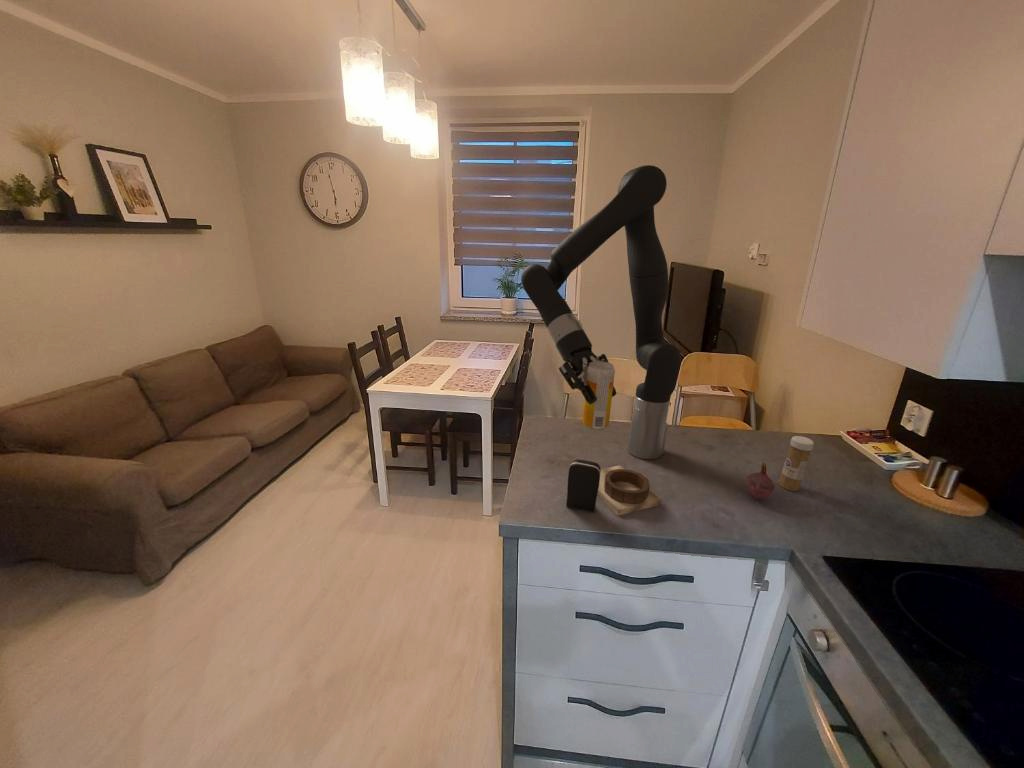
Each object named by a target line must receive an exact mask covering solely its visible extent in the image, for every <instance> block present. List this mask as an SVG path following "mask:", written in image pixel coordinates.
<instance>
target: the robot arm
mask: <svg viewBox="0 0 1024 768" xmlns="http://www.w3.org/2000/svg"><path fill="white" fill-rule="evenodd" d="M667 182H668V181H667V177H666V175H665V173H664V171H663V170H662V169H661V168H659V167H658V166H655V165H651V164H650V165H649V164H647V165H645V164H644V165H640V166H638V167H635V168H634V169H631V170H629V171H627V172H626V173H625V174H624V175H623V176H622V177H621V178H620V181H619V183H618V187H617V194H616V195H615V196H614V197H613V198H612V199H610V201H609V202H608V203H607V204H606V205H605V206H604V207H603V208H602V209H600V210H599V211H598V212H597V213H596V214H594V215H593V216H592V217H590V218H589V219H588V220H586V221H585V222H583V223H582V224H581V225H579V226H578V227H577V228H575V230H574V231H572V232H571V233H569V235H568V236H567V237H565V238H564V239H563V240H562V241H561V242H560V243H559V244H558V245H557V246H556V247H554V248H553V250H552V251H551V254H550V257H551V259H550V261H549V263H548V264H547V265H546V267H545V266H543V265H542V264H538V263H533V264H530V265H528V266H525V268H524V269H523V271H522V274H521V275H520V276H521V277H520V280H521V281H520V282H521V285H522V288H523V289H524V292H525V293H526V295H527V296H528V298H529V299H530V301H531V302H532V304H533V305H534V306H535V308H536V309H537V311H538V313H539V314H540V318H541V319H542V321H543V323H544V325H545V326H546V328H547V331H548V333H549V336H550V338H551V341H552V342H553V344H554V346H555V347H556V349H557V352H558V353H559V355H560V356H561V358H562V360H563V361H564V363H562V365H560V367H558V370H559V372H560V373H561V375H562V377H563V379H564V380H565V381H566V383H567V384H568V386H569V387H570V389H571V390H579V391H580V392H581V394H582V395H583V398H585V399H586V401H587V402H588V403H589V404H593V403H594V402H595V401H597V398H596V396H595V394H594V392H593V391H592V389H591V387H590V386H587V385H588V380H587V368H588V366H589V363H591V362H595V361H602V362H608V363H610V362H609V359H608V358H607V356H606V354H605V353H602V354H600V355H596V354H595V353H593V351H592V348H593V345H592V342H591V340H590V338H589V336H588V335H587V334H586V332H585V330H584V328H583V326H582V325H581V323H580V321H579V320H578V319H577V317H576V316H575V315H574V313H573V311H572V309H571V308H570V305H569V304H568V303H567V301H566V300H565V298H564V297H563V296H562V295H561V293H560V292H559V289H561V287H562V286H563V285H564V283H565V282H566V281H567V279H568V278H569V276H570V275H571V274H572V272H574V271H575V270H576V269H577V268H578V267H579V266H580V265H581V264H582V263H583V262H585V261H586V260H587V259H588V258H589V257H590V256H592V254H594V253H595V252H596V251H597V250H598V249H599V248H600V247H601V246H602V245H603V244H605V242H607V241H608V240H609V239H610V238H611V237H612V236H613V235H615V234H616V233H617V232H618V231H620V230H621V229H622V228H624V231H625V236H626V237H625V239H626V253H627V255H626V256H627V265H628V277H629V283H630V284H629V285H630V292H631V293H630V294H631V298H632V307H633V316H634V321H635V322H634V323H635V356H636V360H637V362H638V364H639V367H640V368H642V369H644V370H645V371H646V373H645V379H644V382H641V383H639V384H637V386H636V389H635V395H634V402H633V410H632V417H631V424H630V431H629V435H628V436H629V438H628V443H627V451H628V453H630V455H632V456H633V457H635V458H639V459H642V460H656V459H658V458H660V457H661V456H662V455H664V452H665V447H666V442H667V435H668V430H669V424H668V422H667V419H668V413H669V407H670V401H671V396H672V395H673V393H674V391H675V389H676V388H677V387H676V386H677V383H678V379H679V374H680V370H681V365H682V354H681V351H680V349H679V348H678V346H676V345H675V344H673V343H670V342H668V341H666V340H665V336H664V330H663V323H662V322H663V317H662V316H663V312H664V310H665V309H664V308H665V306H666V302H667V301H668V296H669V290H670V280H669V278H670V277H669V269H668V262H667V258H666V254H665V251H664V248H663V246H662V243H661V241H660V239H659V238H660V237H659V236H658V233H657V228H656V222H655V206H656V205H657V204H659V203H660V201H661V200H662V199H663V197H664V196H665V194H666V190H667ZM616 395H617V389H616V388H615V386H614V385H613V392H612V398H613V397H615V396H616Z"/></svg>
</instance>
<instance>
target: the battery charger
mask: <svg viewBox="0 0 1024 768" xmlns="http://www.w3.org/2000/svg"><path fill="white" fill-rule="evenodd" d="M601 469H602V468H601V466H600V464H599V463H598V462H594V461H589V460H585V459H580V458H575V459H574V460H572V462H571V463H570V465H569V467H568V474H567V485H566V488H567V489H566V490H567V492H566V503H565V506H566V507H569V508H571V509H576V510H580V511H585V512H589V513H595V512H596V509H597V500H598V490H599V483H600V474H601Z"/></svg>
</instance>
